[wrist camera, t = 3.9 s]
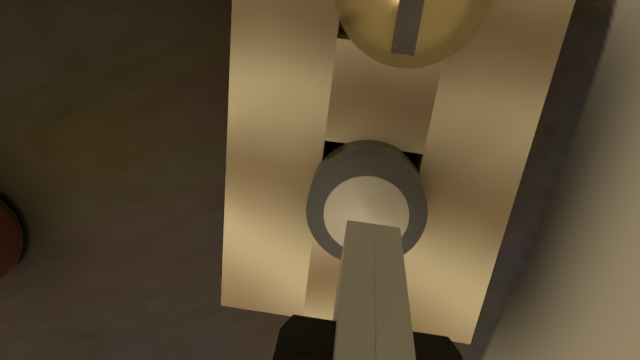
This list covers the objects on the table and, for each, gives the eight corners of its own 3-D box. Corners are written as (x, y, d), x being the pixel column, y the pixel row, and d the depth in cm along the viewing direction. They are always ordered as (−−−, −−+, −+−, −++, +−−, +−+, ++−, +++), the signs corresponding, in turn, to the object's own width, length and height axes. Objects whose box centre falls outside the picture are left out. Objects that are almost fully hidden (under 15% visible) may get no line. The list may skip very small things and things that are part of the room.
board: (279, -477, 15) (254, -604, 12) (664, -446, 14) (750, -571, 11) (239, 265, 26) (221, 305, 23) (457, 298, 25) (470, 343, 22)
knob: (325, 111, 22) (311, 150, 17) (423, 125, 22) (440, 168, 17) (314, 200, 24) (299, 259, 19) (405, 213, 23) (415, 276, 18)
